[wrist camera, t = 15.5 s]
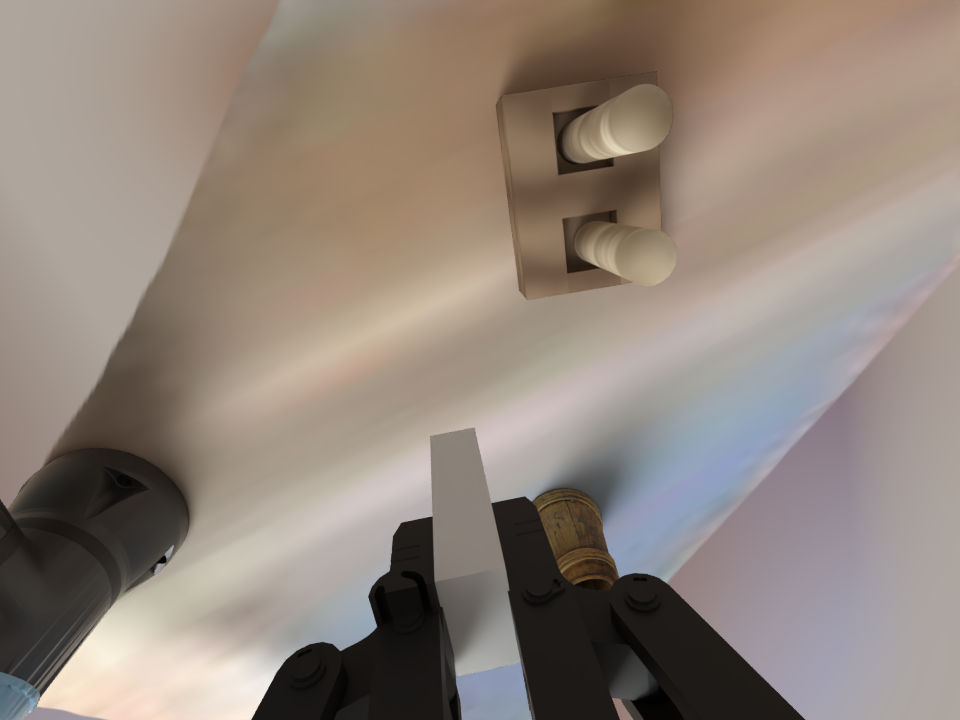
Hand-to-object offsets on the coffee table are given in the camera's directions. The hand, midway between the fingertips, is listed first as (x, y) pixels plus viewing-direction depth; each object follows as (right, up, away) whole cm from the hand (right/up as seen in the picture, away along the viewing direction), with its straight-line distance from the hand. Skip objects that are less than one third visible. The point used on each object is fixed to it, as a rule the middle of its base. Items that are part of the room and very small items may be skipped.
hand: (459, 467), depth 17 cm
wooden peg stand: (+9, +19, +28) cm, 35 cm away
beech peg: (+10, +14, +27) cm, 32 cm away
